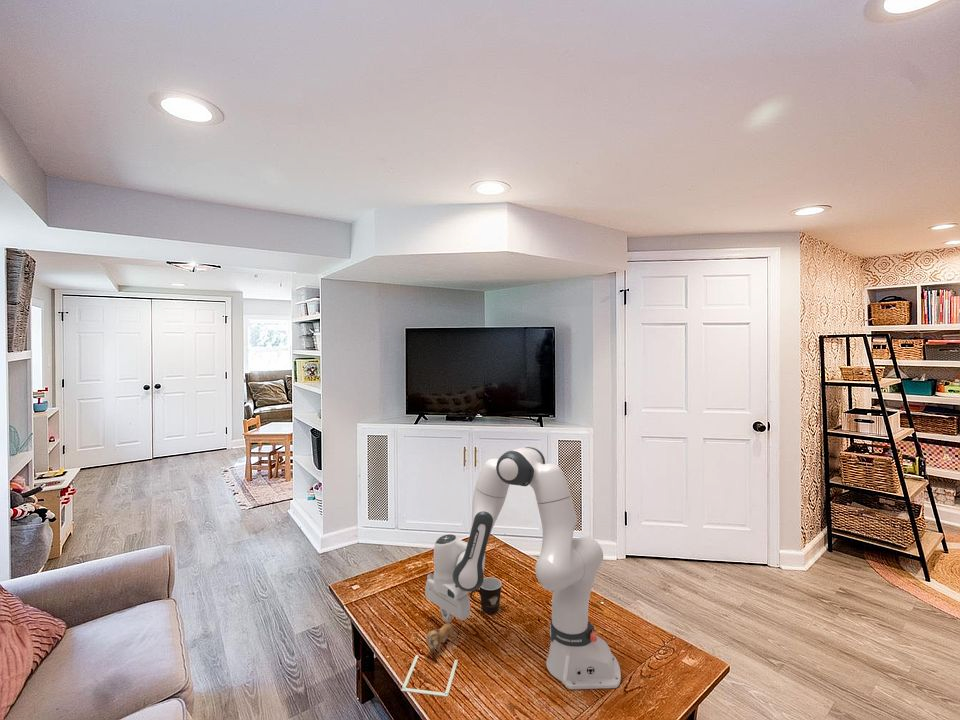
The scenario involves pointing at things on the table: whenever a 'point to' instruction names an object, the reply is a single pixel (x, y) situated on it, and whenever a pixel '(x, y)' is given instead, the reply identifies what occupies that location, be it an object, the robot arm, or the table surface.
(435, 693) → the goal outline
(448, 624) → the lion figurine
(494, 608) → the coffee mug
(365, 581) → the table surface
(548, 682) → the table surface
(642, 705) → the table surface
